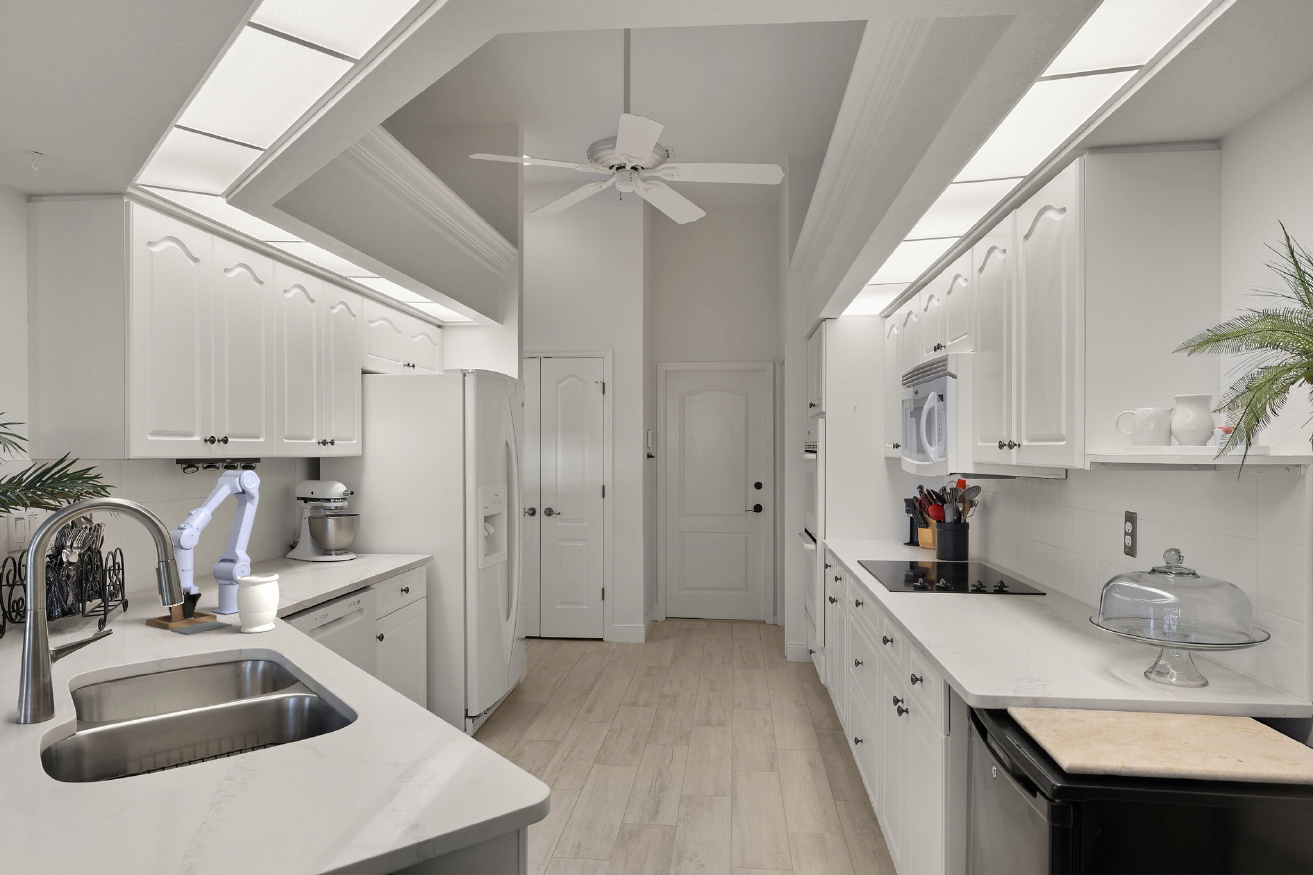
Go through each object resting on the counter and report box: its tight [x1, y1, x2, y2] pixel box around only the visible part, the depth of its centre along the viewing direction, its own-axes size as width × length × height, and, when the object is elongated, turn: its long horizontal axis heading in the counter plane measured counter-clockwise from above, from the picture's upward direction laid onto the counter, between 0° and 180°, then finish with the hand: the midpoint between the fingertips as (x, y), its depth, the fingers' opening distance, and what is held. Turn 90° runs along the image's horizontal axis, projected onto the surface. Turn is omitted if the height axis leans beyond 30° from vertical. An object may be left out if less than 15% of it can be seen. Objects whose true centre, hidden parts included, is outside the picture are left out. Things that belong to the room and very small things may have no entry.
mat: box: [170, 620, 233, 636], centre depth 209 cm, size 12×9×1 cm
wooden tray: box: [145, 610, 218, 631], centre depth 216 cm, size 13×13×2 cm
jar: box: [237, 573, 280, 634], centre depth 206 cm, size 11×10×15 cm
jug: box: [171, 604, 196, 623], centre depth 217 cm, size 6×5×7 cm
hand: (181, 616), depth 216 cm, fingers open, 7 cm apart
